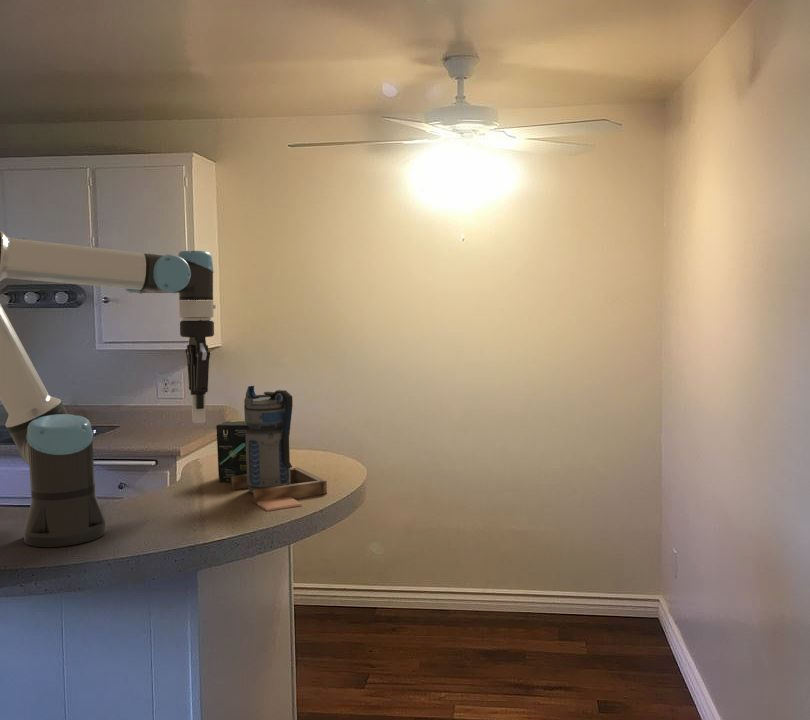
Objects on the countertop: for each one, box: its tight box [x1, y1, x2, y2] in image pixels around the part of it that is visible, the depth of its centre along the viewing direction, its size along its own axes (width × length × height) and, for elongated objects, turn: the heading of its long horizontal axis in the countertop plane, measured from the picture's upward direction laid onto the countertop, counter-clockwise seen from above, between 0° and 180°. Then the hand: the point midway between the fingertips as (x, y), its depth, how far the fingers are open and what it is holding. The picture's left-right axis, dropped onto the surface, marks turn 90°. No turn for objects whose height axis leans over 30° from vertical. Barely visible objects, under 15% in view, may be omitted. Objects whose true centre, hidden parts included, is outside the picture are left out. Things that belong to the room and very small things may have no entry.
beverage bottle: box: [243, 385, 294, 494], centre depth 195 cm, size 10×13×25 cm
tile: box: [256, 497, 303, 512], centre depth 184 cm, size 8×8×1 cm
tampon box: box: [216, 419, 249, 483], centre depth 211 cm, size 11×9×15 cm
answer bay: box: [231, 467, 328, 505], centre depth 197 cm, size 17×18×3 cm
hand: (198, 422), depth 190 cm, fingers closed
